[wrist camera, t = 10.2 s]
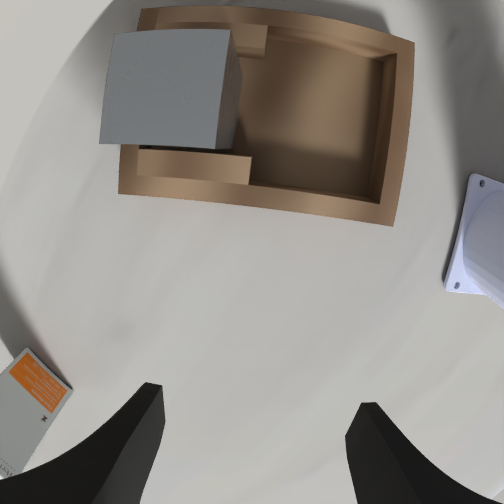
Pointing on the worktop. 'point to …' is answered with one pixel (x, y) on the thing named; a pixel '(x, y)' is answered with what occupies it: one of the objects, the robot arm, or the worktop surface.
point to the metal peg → (172, 89)
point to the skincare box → (27, 409)
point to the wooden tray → (293, 118)
